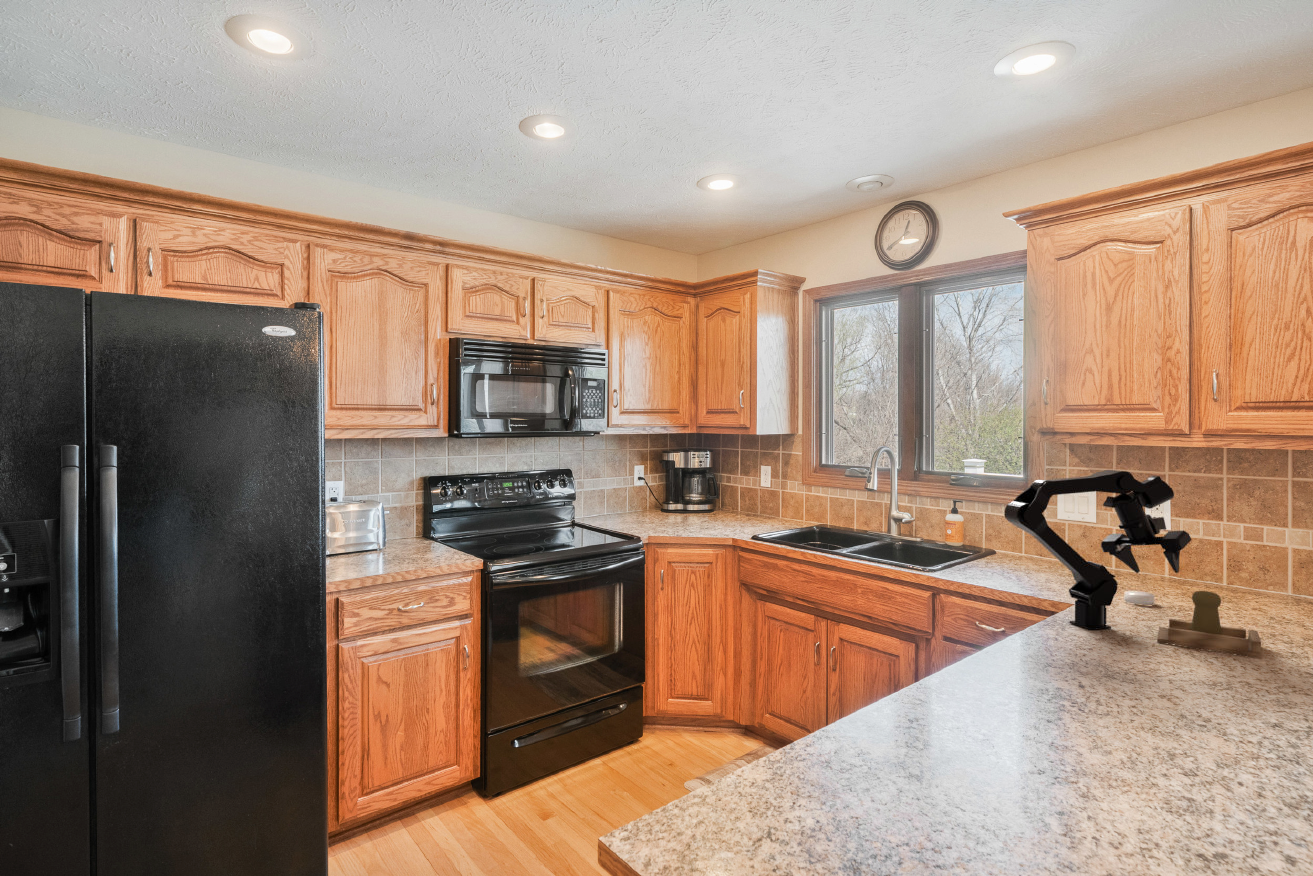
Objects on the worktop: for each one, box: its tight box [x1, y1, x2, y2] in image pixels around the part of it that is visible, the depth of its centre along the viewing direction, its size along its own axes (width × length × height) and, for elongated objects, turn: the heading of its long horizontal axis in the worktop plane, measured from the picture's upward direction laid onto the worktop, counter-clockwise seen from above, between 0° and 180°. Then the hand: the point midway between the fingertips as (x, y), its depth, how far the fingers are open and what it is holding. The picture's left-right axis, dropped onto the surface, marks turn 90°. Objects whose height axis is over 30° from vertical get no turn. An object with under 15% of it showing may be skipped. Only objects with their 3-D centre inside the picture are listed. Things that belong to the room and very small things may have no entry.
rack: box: [1156, 618, 1262, 660], centre depth 155 cm, size 18×12×4 cm, turn 52°
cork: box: [1191, 590, 1222, 635], centre depth 156 cm, size 6×6×11 cm
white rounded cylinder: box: [1123, 590, 1155, 605], centre depth 193 cm, size 7×7×3 cm
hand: (1157, 572), depth 170 cm, fingers open, 9 cm apart
